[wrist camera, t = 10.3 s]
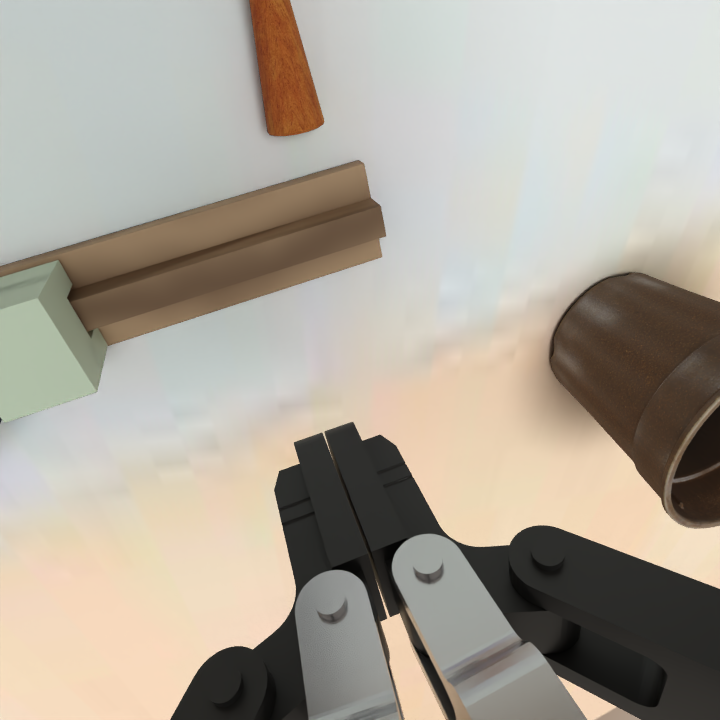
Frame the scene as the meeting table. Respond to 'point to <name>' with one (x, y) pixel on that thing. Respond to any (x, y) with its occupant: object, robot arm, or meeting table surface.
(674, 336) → the plant pot
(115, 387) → the meeting table surface
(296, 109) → the kendama
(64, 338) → the keeper
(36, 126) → the meeting table surface
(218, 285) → the rail
